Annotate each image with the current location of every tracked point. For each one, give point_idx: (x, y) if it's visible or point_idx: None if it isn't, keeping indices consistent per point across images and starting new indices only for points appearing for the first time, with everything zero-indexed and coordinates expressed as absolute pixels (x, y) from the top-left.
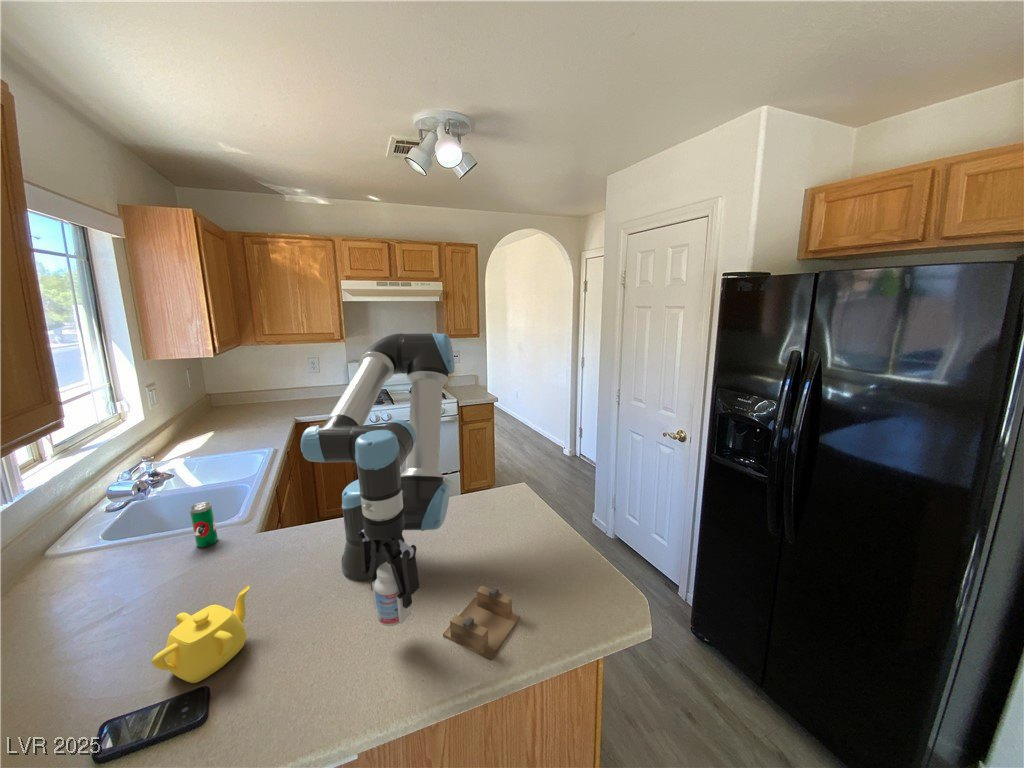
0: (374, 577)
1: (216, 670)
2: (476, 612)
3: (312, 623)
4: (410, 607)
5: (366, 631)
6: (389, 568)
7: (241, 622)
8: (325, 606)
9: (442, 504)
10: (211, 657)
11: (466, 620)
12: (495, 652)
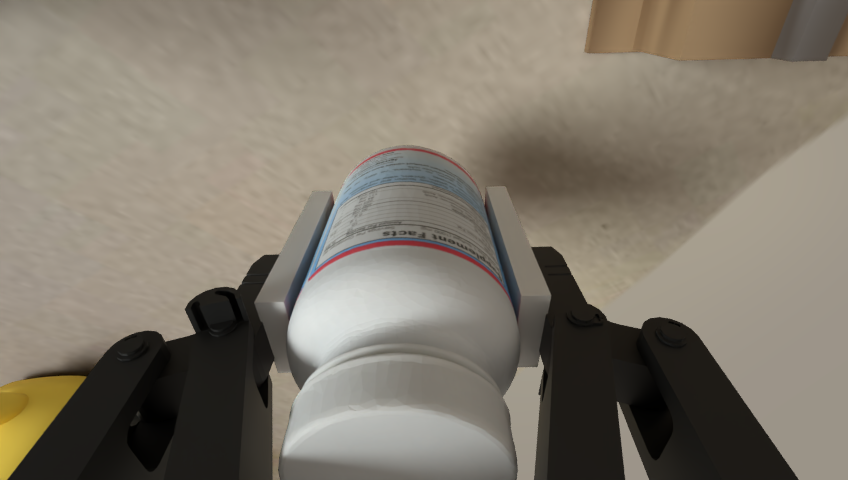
0: (265, 373)
1: None
2: None
3: (123, 253)
4: (512, 207)
5: (299, 189)
6: (399, 475)
7: (16, 407)
8: (59, 187)
9: None
10: None
11: (806, 33)
12: None
